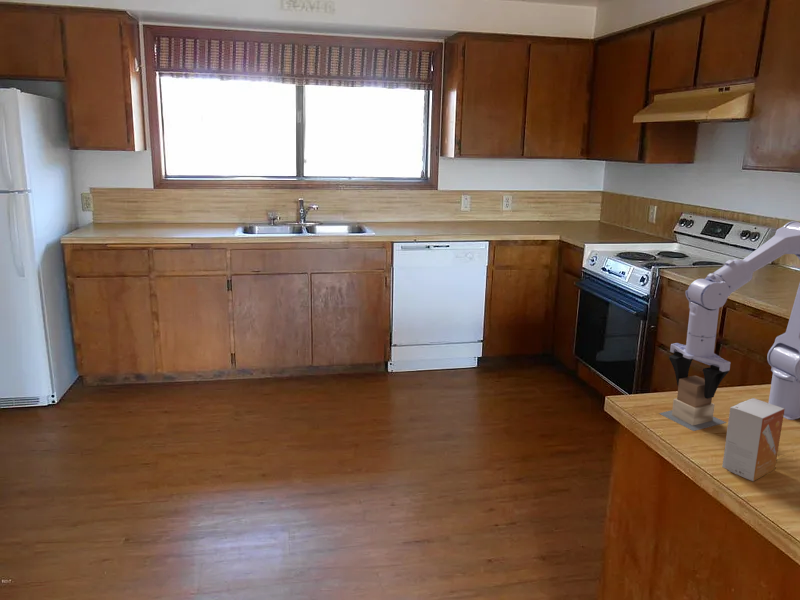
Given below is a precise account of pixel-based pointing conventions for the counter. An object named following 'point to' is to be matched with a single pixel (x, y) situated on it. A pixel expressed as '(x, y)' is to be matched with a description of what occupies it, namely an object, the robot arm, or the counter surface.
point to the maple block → (692, 412)
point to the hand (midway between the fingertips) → (695, 391)
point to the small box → (753, 438)
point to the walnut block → (692, 391)
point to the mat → (689, 426)
